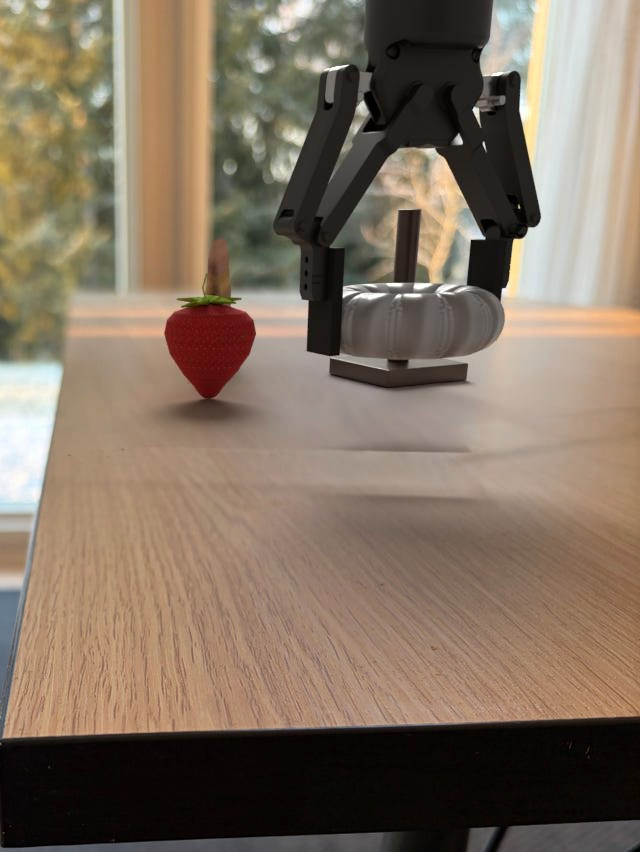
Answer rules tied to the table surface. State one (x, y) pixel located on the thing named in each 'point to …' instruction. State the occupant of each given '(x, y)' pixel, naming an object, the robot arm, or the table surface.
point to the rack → (407, 369)
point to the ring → (418, 320)
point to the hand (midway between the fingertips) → (403, 346)
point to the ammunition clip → (218, 270)
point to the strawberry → (209, 341)
